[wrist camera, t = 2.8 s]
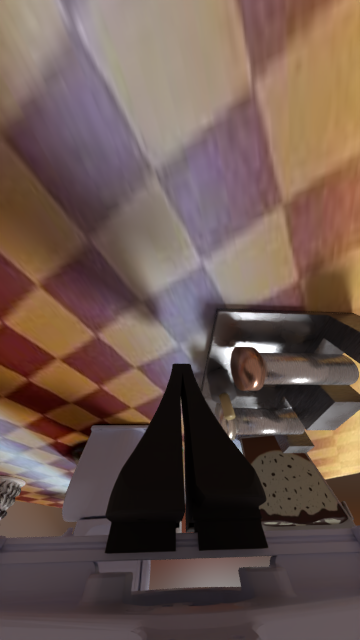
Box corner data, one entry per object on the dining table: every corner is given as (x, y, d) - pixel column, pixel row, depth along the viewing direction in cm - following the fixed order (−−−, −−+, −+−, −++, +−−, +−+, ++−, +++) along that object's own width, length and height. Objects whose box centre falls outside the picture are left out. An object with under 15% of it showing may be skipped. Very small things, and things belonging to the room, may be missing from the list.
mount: (197, 410, 22) (202, 453, 17) (216, 308, 13) (236, 344, 9) (281, 410, 22) (306, 453, 18) (353, 313, 14) (434, 349, 9)
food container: (230, 450, 30) (252, 538, 21) (231, 437, 27) (257, 533, 18) (292, 445, 29) (341, 533, 20) (300, 431, 26) (362, 528, 17)
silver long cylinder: (213, 412, 20) (220, 446, 16) (218, 396, 18) (227, 431, 15) (279, 412, 20) (298, 445, 17) (291, 397, 18) (314, 430, 15)
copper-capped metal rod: (227, 365, 15) (240, 400, 12) (235, 337, 13) (254, 369, 10) (313, 367, 15) (347, 400, 12) (333, 340, 14) (379, 371, 10)
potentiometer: (205, 383, 18) (213, 424, 14) (208, 368, 16) (218, 409, 13) (226, 383, 18) (240, 424, 14) (231, 369, 16) (248, 409, 13)
